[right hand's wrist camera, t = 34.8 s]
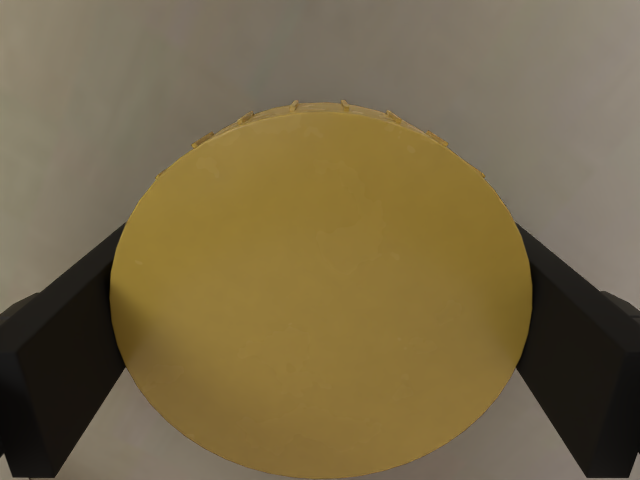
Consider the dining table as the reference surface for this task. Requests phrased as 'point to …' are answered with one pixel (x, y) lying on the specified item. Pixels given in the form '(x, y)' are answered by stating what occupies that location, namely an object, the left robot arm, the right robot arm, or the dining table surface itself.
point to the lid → (321, 292)
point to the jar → (6, 470)
